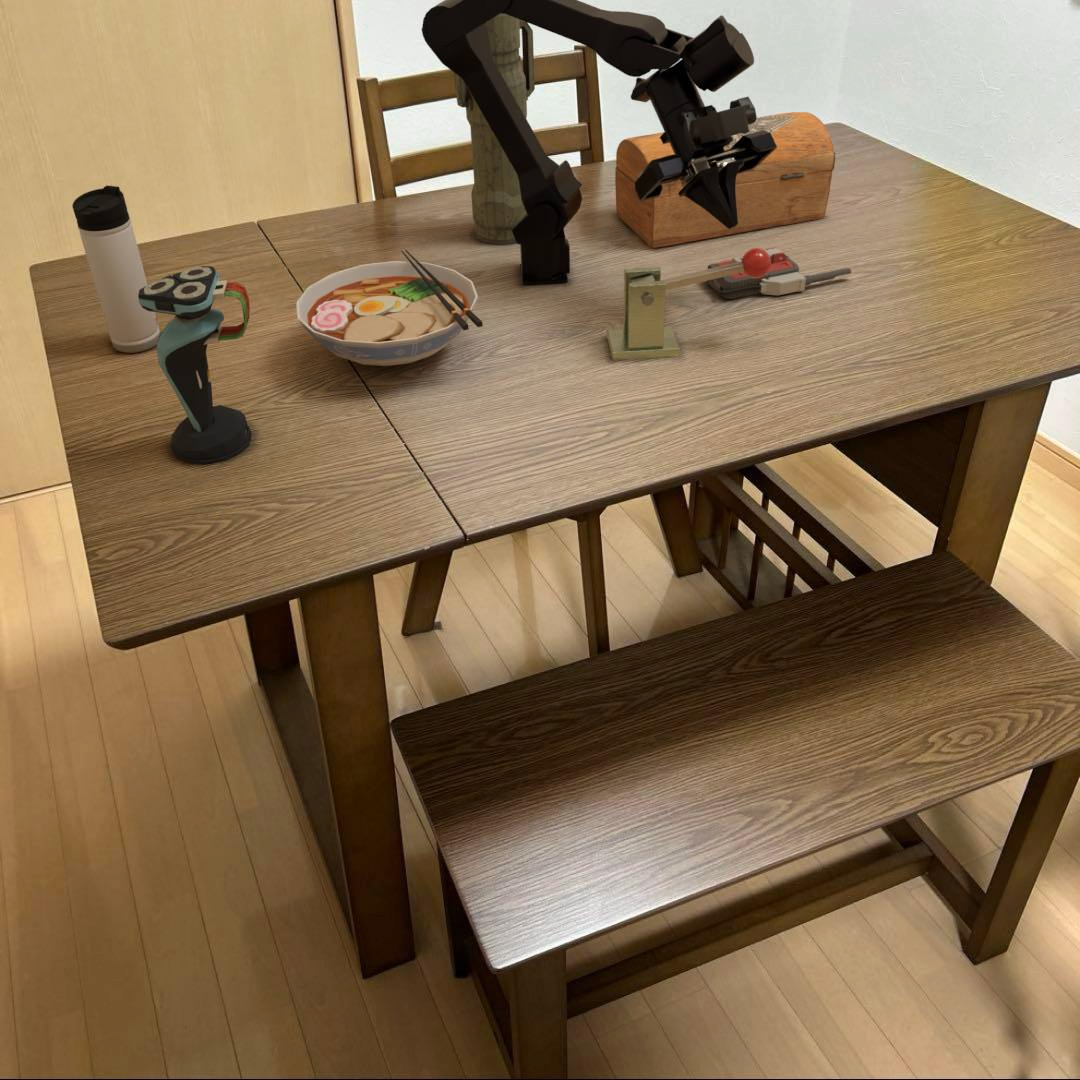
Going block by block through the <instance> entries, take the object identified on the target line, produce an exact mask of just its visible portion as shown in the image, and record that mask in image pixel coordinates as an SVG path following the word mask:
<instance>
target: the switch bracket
mask: <svg viewBox="0 0 1080 1080" xmlns="http://www.w3.org/2000/svg"><path fill="white" fill-rule="evenodd" d="M661 271H662V270H661V267H660V266H653V267H637V268H634V267H633V268H624V272H623V273H624V277H623V278H624V279H623V323H622V325H623V326H622V327H623V328H622V329H609V330H606V339H607V343H608V348H609V352H610V356H611V359H612V361H624V360H640V359H654V358H655V359H659V358H673V357H680V356H681V355H680V353H681V348H680V345H679V342H678V339H677V337H676V334H675V331H674V328H673V326H665V312H666V294H667V293H666V291H667V290H666V283H665V281H661V274H662V273H661ZM651 275H653V277H654V280H655V281H654V282H637V283H631V280H634V279H638V278H642V277H647V276H651Z"/></svg>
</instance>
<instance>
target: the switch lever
mask: <svg viewBox="0 0 1080 1080" xmlns="http://www.w3.org/2000/svg"><path fill="white" fill-rule="evenodd" d="M765 250H766V249H763V248H759V247H755V248H751V249H749V250H747V251H746V252H745V253H744V254H743V256H742V257H741V258H742V261H740V262H736V263H732V264H727V265H723V266H719V267H715V268H711V269H708V268H706V269H703V270H698V271H695V272H690V273H686V274H682V275H678V276H673V277H670V278H666V279H660V281H665V283H666V291H669V290H673V289H678V288H682V287H686V286H690V285H695V284H699V283H704V282H707V281H708V280H712V279H716V278H720V277H725V276H729V275H733V274H737V273H741V272H744V273H745V274H746V275H747V276H749V277H751V278H760V277H763V276H764V275H766V274H767V273H768V271H769V269H770V267H771V258H770V256H769V254H768V253H767V252H766V251H765ZM654 281H655V280H654V277H653V275H651V276H647V277H642V278H638V279H634V280H631V283H637V282H654Z"/></svg>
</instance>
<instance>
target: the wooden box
mask: <svg viewBox="0 0 1080 1080" xmlns="http://www.w3.org/2000/svg"><path fill="white" fill-rule="evenodd" d="M748 127H749V131H750V132H749V133H745V134H742V133H739V134H736V135H733V136H732V138H733V141H732V142H731V143H730V144H729V145H726V146H725V147H724V150H728V149H730V148H731V147H732V146H733V145H734V144H735V143H736V142H737V141H738V140H739V139H740V138H741V137H742V136H744V135H747V134H751V133H755V132H759V131H762V130H764V131H767V132H770V133H771V135H772V137H773V139H774V141H775V143H776V145H777V148H776V149H775V150H774V151H773V152H772V153H771V154H770V155H769V156H768V157H766V158H765V159H764V160H763V161H762V162H761V163H760V164H759V165H758V166H757V167H756V168H754V169H752V170H750V171H747V172H743V173H740V174H737V176H736V185H735V192H736V205H737V218H738V225H737V226H736V227H734V228H731V229H728V228H727V227H726V226H725V225H723V224H722V223H721V222H720V221H718V220H717V219H716V218H715V217H713V216H712V215H711V214H710V213H708V212H707V211H706V210H705V209H703V208H702V207H700V206H699V205H698V204H696V203H695V202H693V201H692V200H690V199H689V198H687V197H685V196H682V197H680V196H679V194H678V193H679V191H680V190H681V189H682V188H683V186H682V184H681V181H680V180H676V181H673V182H669V183H666V184H662V187H663V188H662V191H661V194H660V195H659V197H656V198H652V199H649V200H645V201H640V199H639V197H638V195H637V192H636V190H635V180H636V177H637V176H638V175H639V174H640V173H641V172H642V171H643V170H644V168H645V167H646V166H647V165H648V164H649V163H650V162H651V161H652V160H654V159H658V158H662V157H665V156H669V155H673V154H674V151H673V149H672V147H671V145H670V143H666V144H663V143H662V141H661V138H660V137H661V135H662V134H663V133H664V132H665V131H663V132H657V133H651V134H645V135H644V134H643V135H638V136H631V137H628V138H625V139H623V140H621V141H620V142H619V143H618V146H617V149H616V151H615V153H616V154H615V155H616V156H615V164H616V165H615V175H614V176H615V177H614V182H615V184H614V185H615V207H616V210H615V211H616V216H617V217H619V219H620V220H621V221H623V222H624V223H625V225H627V226H628V227H629V228H630V229H631V230H632V231H633V232H634V233H635V234H636V235H637V236H638V237H639V238H640V239H642V240H643V241H644V242H645V243H646V244H647V245H648V246H649V247H651V248H661V247H668V246H673V245H678V244H679V245H680V244H684V243H690V242H695V241H700V240H701V241H702V240H706V239H712V238H718V237H723V236H730V235H735V234H741V233H746V232H752V231H758V230H763V229H764V230H765V229H769V228H774V227H775V228H776V227H780V226H781V227H782V226H786V225H793V224H799V223H803V222H809V221H816V220H821V219H824V218H825V217H826V213H827V209H828V208H827V207H828V203H829V198H830V193H831V191H830V190H831V185H832V178H833V171H834V169H835V165H836V151H835V149H834V144H833V142H832V138H831V135H830V132H829V131H828V128H827V126H826V125H825V123H823V121H822V120H821V119H820V118H819V117H818V116H816V115H815V114H813V113H811V112H808V111H795V112H784V113H777V114H771V115H765V116H757V119H756V122H755V123H752V124H749V125H748ZM674 155H675V154H674ZM713 162H716V161H713Z"/></svg>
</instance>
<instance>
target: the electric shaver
mask: <svg viewBox="0 0 1080 1080" xmlns="http://www.w3.org/2000/svg"><path fill="white" fill-rule="evenodd" d="M226 297H233V298H234V297H235V298H236V299H237V300H238V301H240V303H241V308H242V314H243V315H242V316H243V322H242V323H240V324H238V325H227V326H226V325H225V326H224V325H223V324H222V323H223V322H224V321H225V316H224V313H223V312H222V310H221V309H217V308H212V307H213V303H214V301H217V300H225V298H226ZM138 300H139V303H140V305H141V306H142V308H144V309H146V310H147V311H151V312H155V313H159V314H167V315H173V316H174V318H173V319H171V320H170V321H168V322H167V323H166V325H165V326H164V328H163V329H162V331H160V336H159V338H158V341H157V345H156V350H157V351H156V352H157V363H158V366H159V367H160V369H161V370H162V372H163V374H164V376H165V377H166V379H167V381H168V383H169V384H170V387H171V388H172V389H173V392H174V393H175V394H176V397H177V399H178V401H179V402H180V404H181V406H182V408H183V411H184V412H185V414H186V417H185V418H184V419H183V420H181V422H180V423H179V424H178V425H177V427H176V428H175V429H174V431H173V432H172V434H171V444H170V449H171V453H172V454H173V455H174V457H176V459H178V460H179V461H182V462H185V463H188V464H192V465H209V464H214V463H220V462H225V461H228V460H230V459H231V458H233V457H236V456H238V455H240V454H242V452H244V451H245V450H246V449H247V448H248V447H249V446H250V444H251V440H252V436H253V433H252V431H251V428H250V426H248V422H247V418H246V415H245V414H244V413H243V412H242V411H241V410H239V409H236V408H232V407H228V406H225V405H221V404H219V405H214V404H213V403H214V402H213V386H212V379H211V373H210V367H209V362H208V357H207V349H208V345H216V344H220V341H233V340H238V339H240V338H243V336H244V334H245V332H246V331H247V330H248V329H247V328H248V323H249V320H250V314H251V313H250V312H251V308H250V298H249V294H248V291H247V288H246V286H245V285H243V284H241V283H238V282H237V281H231V282H230V281H229V282H228V280H226V279H225V280H220V275H219V271H217V270H216V268H215V267H214V266H212V265H211V266H209V265H201V266H196V267H191V268H187V269H185V270H183V271H180V272H176V273H173V274H169V275H166V276H165V277H162V278H160V279H157V280H154V281H152V282H151V283H149V284H148V285H147V286H145V287H143V288H141V289H140V290H139V294H138Z"/></svg>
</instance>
